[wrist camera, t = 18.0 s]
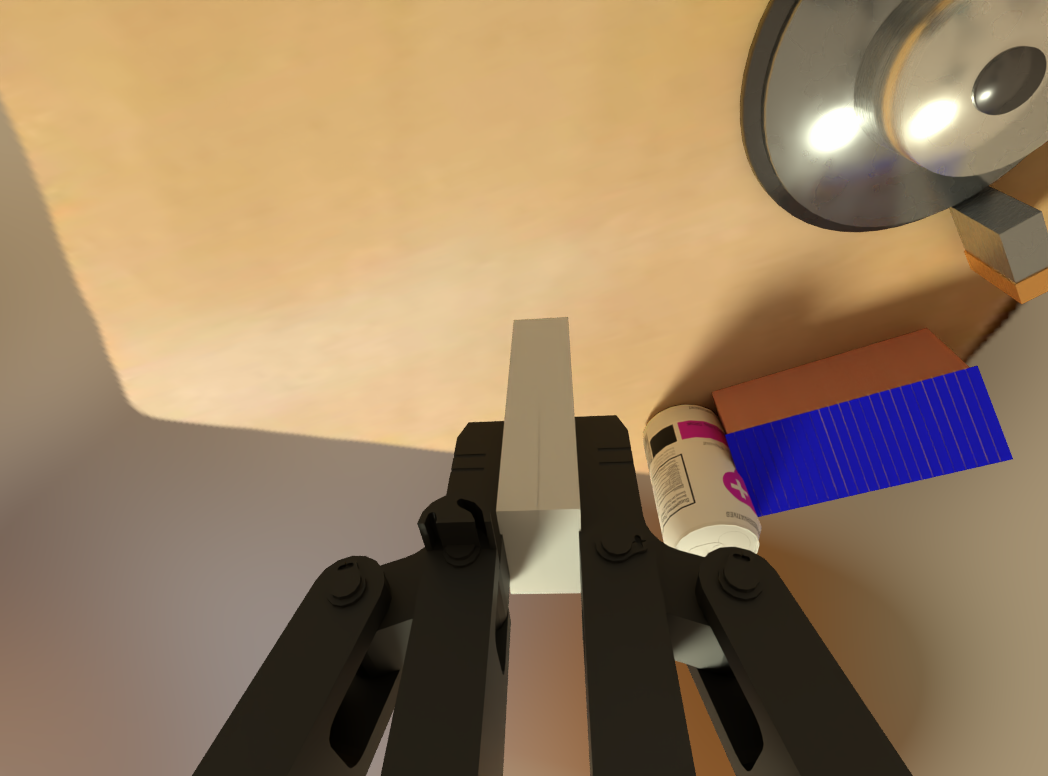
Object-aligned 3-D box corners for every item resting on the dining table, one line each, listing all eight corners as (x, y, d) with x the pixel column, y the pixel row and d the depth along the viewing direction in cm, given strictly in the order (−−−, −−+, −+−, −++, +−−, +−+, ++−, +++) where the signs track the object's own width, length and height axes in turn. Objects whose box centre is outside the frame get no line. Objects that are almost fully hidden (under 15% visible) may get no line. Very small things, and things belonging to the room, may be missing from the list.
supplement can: (708, 389, 53) (755, 509, 41) (727, 443, 57) (774, 564, 45) (631, 415, 55) (654, 534, 43) (655, 464, 60) (682, 585, 48)
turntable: (706, 52, 34) (731, 64, 29) (1078, -268, 25) (1195, -321, 21) (860, 327, 46) (894, 366, 42) (1146, 174, 38) (1229, 202, 33)
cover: (828, 57, 33) (879, 72, 28) (1011, -86, 29) (1110, -98, 24) (885, 181, 37) (938, 213, 32) (1050, 73, 33) (1141, 91, 28)
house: (707, 389, 53) (740, 476, 44) (929, 322, 47) (1021, 405, 38) (729, 465, 60) (763, 554, 50) (927, 414, 54) (1005, 504, 45)
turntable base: (823, -194, 28) (831, -199, 27) (1215, -143, 29) (1234, -146, 28) (699, 212, 42) (702, 217, 41) (967, 240, 42) (975, 245, 42)
